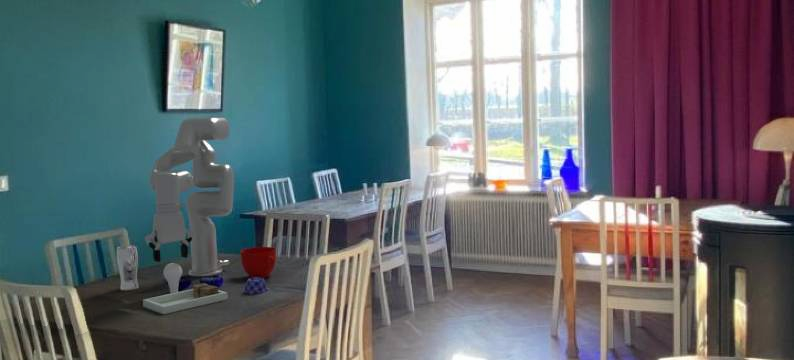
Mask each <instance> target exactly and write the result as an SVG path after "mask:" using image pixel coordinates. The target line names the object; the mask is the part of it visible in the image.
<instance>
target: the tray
mask: <svg viewBox="0 0 794 360" xmlns="http://www.w3.org/2000/svg"><path fill="white" fill-rule="evenodd" d="M228 297H229V296H228V292H226V291H223V290H220V289H218V294H215V295H210V296H206V297H201V298H195V297H194V294H193V288H191V289H187V290H181V291H178V292H176V293H168V294H163V295H158V296H154V297H149V298H145V299H144V298H143V299H142V305H143V308H145V309H149V310H151V311H153V312H156V313H159V314H162V315H167V314H171V313H175V312H179V311H184V310H189V309H192V308H197V307H201V306H206V305H209V304H215V303H219V302H223V301H227V300H228Z"/></svg>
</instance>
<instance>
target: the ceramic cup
mask: <svg viewBox="0 0 794 360" xmlns="http://www.w3.org/2000/svg"><path fill="white" fill-rule="evenodd" d="M276 257H277V250H276V248H275V247H272V246H271V247H270V246H259V247H258V246H256V247H249V248H244V249H241V250H240V260H241V265H242V267H243V269H244V272H245V273H246V274H247V275H248V276H249V277H250V278H257V277H259V278H263V279H265V278H267V277H269V275H270V274H271V273H272V272H273V270H274V268H275V265H276Z"/></svg>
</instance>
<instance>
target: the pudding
mask: <svg viewBox="0 0 794 360" xmlns="http://www.w3.org/2000/svg"><path fill="white" fill-rule="evenodd" d="M268 289H270V290H271V288H270V287H267V284H266V281H265V278H259V277H257V278H251V277H250V278H248V279H247V280H246V282H245V287H244V292H243V293H245V294H248V295H258V294H264V293H265V292H268Z"/></svg>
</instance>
